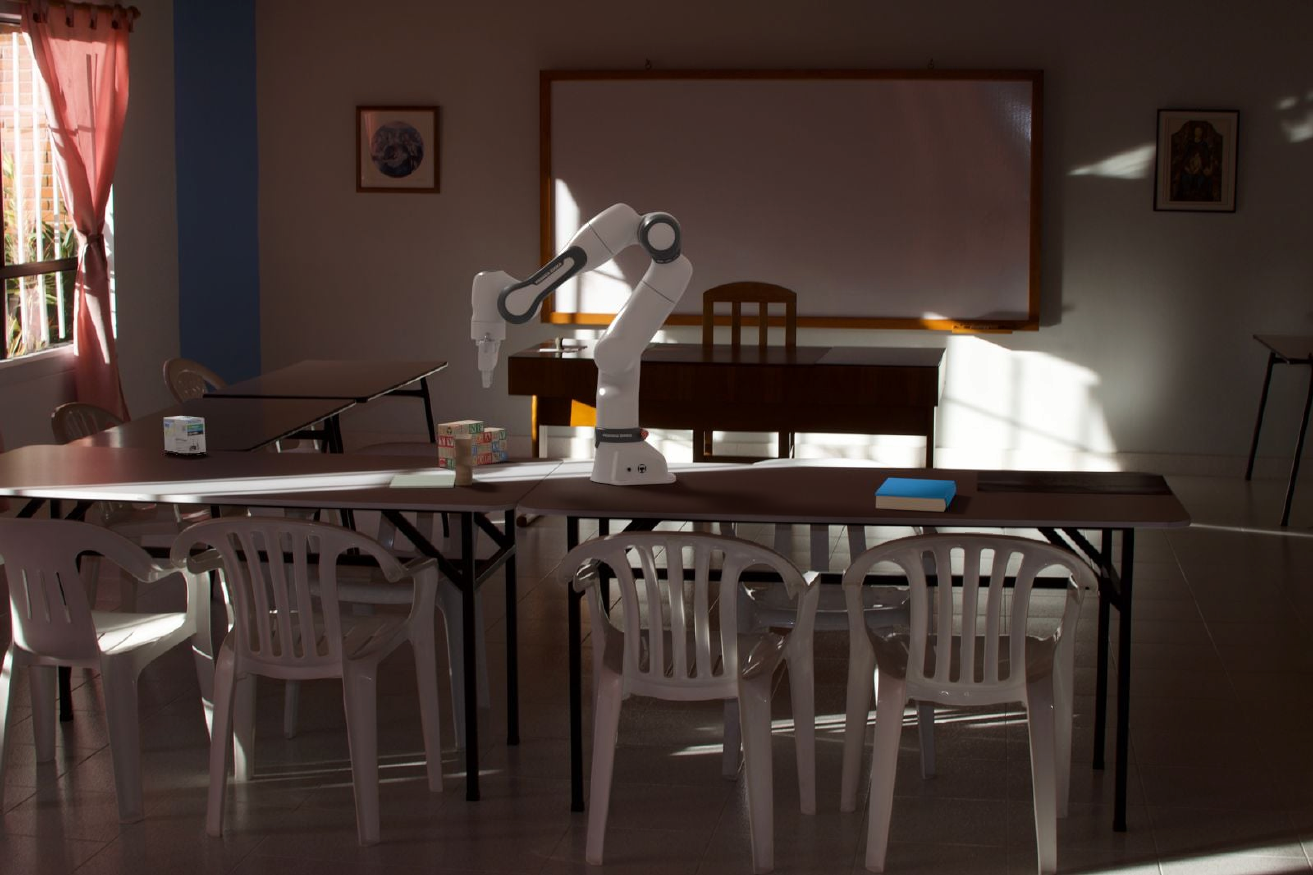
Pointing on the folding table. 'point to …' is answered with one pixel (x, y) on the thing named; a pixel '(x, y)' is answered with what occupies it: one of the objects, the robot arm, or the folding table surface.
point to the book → (915, 494)
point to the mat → (423, 481)
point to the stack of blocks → (483, 443)
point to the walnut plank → (463, 459)
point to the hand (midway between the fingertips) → (487, 385)
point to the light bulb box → (184, 434)
